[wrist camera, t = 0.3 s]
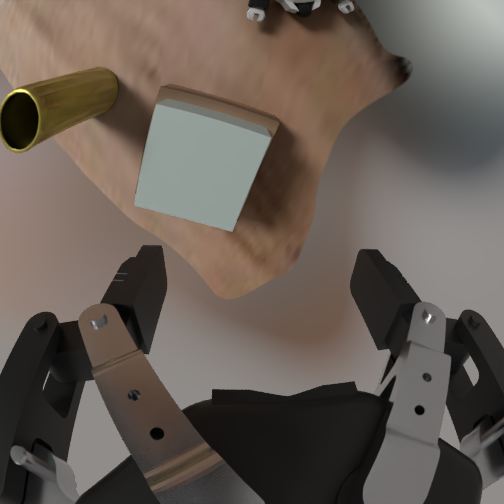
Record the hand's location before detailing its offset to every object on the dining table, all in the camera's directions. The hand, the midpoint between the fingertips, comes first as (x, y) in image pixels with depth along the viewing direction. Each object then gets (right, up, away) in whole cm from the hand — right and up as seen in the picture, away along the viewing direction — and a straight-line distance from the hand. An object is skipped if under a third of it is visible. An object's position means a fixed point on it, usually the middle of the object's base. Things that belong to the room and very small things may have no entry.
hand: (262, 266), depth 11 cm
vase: (-18, +19, +13) cm, 29 cm away
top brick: (-5, +10, +15) cm, 19 cm away
